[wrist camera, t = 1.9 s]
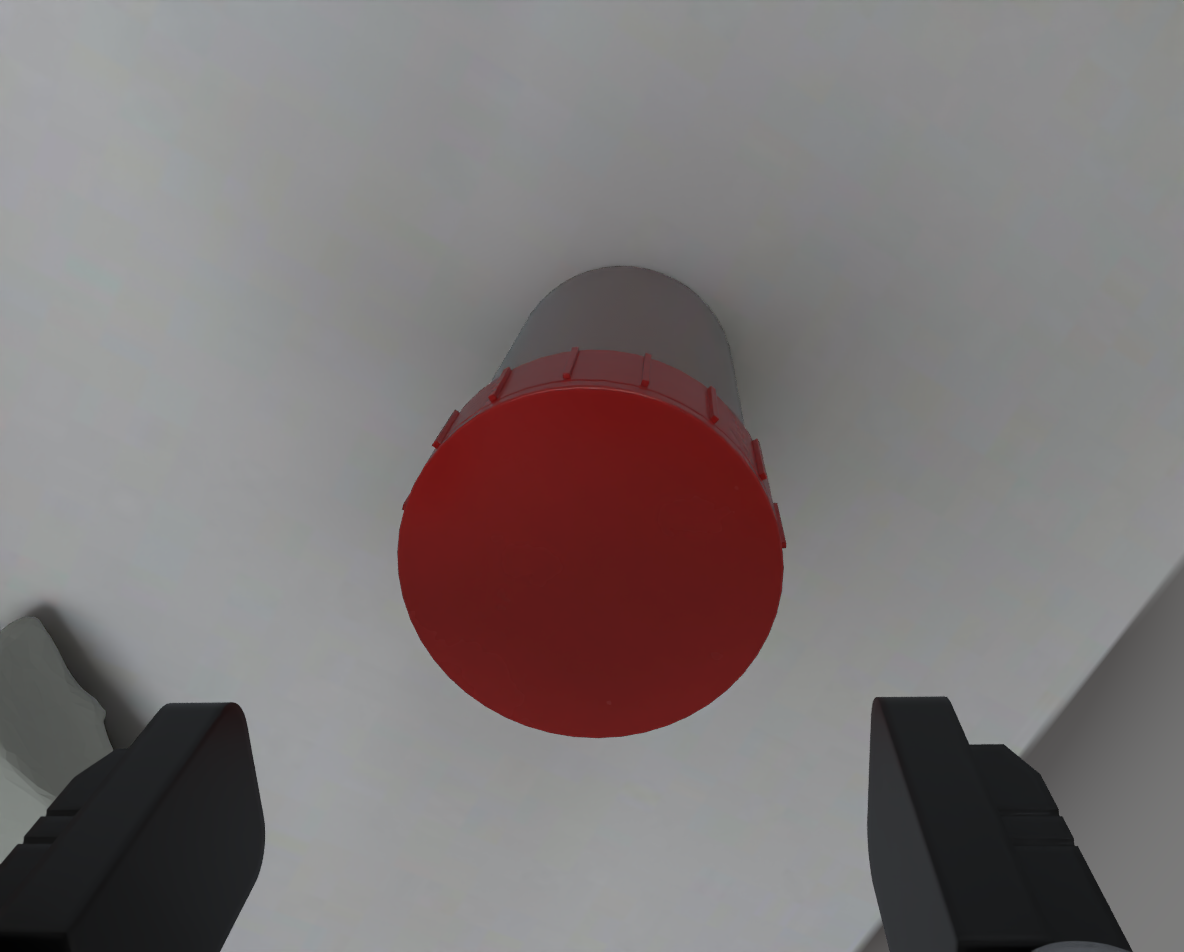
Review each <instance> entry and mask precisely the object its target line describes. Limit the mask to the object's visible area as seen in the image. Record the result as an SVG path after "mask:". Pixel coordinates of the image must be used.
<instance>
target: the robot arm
mask: <svg viewBox="0 0 1184 952" xmlns="http://www.w3.org/2000/svg"><path fill="white" fill-rule="evenodd" d="M1058 810H1059V809H1058V807H1057V805H1056V803H1055V802H1054V800H1053V798H1052V796H1051V794H1050V792H1049V790H1048V788H1047V786H1046V784H1045V782H1044V781H1043V779H1042V777H1041V775H1040V774H1039V773H1038V772H1037V771H1036V770H1034V769H1033V768H1032V767H1031V766H1029V765H1028V764H1027V763H1026V762H1025V761H1023V760H1022V759H1021V758H1020V757H1019V756H1017V755H1016V754H1015V753H1014V752H1012V751H1011V750H1010V749H1009V748H1008V747H1006V746H1005V745H1004V744H982V745H969V743H968V740H967V738H966V736H965V734H964V731H963V729H962V727H961V725H960V722H959V720H958V718H957V715H956V713H955V711H954V709H953V706H952V704H951V702H950V700H949V699H948V698H947V697H876V698H875V699H874V701H873V705H872V712H871V733H870V761H869V789H868V817H867V834H868V851H869V861H870V869H871V875H872V881H873V886H874V890H875V894H876V898H877V902H878V906H879V910H880V914H881V918H882V922H883V926H884V930H885V934H886V939H887V943H888V947H889V951H890V952H1133V951H1132V949H1131V948H1130V945H1129V944H1128V942H1127V940H1126V938H1125V936H1124V934H1123V932H1122V930H1121V928H1120V926H1119V925H1118V923H1117V920H1116V919H1115V917H1114V915H1113V913H1112V911H1111V909H1110V907H1109V905H1108V903H1107V901H1106V899H1105V898H1104V896H1103V894H1102V892H1101V890H1100V888H1099V886H1098V884H1097V882H1096V880H1095V879H1094V876H1093V874H1092V873H1091V871H1090V869H1089V867H1088V865H1087V863H1086V861H1085V859H1084V857H1083V855H1082V853H1081V852H1080V850H1079V848H1078V846H1075V845H1074V838H1073V836H1072V834H1071V832H1070V830H1069V828H1068V826H1067V825H1066V823H1065V821H1064V819H1063V817H1062V816H1059V811H1058ZM46 811H47V812H46V816H41V817H40V818H39V819H38V820H37V822H36V823H35V824H34V825H33V826H32V827H31V829H30V830H29V831H28V832H27V833H26V835H25V836H24V841H23V844H17V845H16V846H15V848H14V849H13V850H12V851H11V852H10V853H9V855H8V856H7V857H6V858H5V859H4V861H3V862H2V863H1V864H0V952H220V951H221V949H222V947H223V945H224V943H225V941H226V939H227V937H228V935H229V933H230V931H231V929H232V927H233V925H234V923H235V921H236V919H237V917H238V915H239V913H240V912H241V910H242V908H243V906H244V904H245V902H246V900H247V898H248V896H249V894H250V892H251V890H252V888H253V886H254V884H255V882H256V880H257V878H258V875H259V872H260V869H261V865H262V860H263V855H264V846H265V823H264V816H263V810H262V805H261V799H260V794H259V788H258V783H257V777H256V771H255V766H254V760H253V755H252V749H251V744H250V738H249V733H248V727H247V722H246V718H245V715H244V712H243V711H242V709H241V707H240V706H239V705H238V704H236V703H233V702H230V703H169V704H166V705H164V706H163V707H162V708H161V709H160V710H159V711H158V712H157V714H156V715H155V716H154V717H153V719H152V720H151V721H150V722H149V724H148V725H147V726H146V727H145V729H144V730H143V731H142V732H141V734H140V735H139V736H138V737H137V739H136V740H135V741H134V742H133V744H132V745H131V746H130V747H129V749H115V750H114V751H112V752H111V753H109V754H108V755H106V756H105V757H103V758H102V759H100V760H99V761H97V762H96V763H94V764H93V765H91V766H90V767H88V768H87V769H85V770H84V771H82V772H81V773H79V774H78V775H77V776H75V777H74V778H73V779H72V780H71V781H70V782H69V784H68V785H67V786H66V787H65V788H64V790H63V791H62V792H61V793H60V794H59V795H58V797H57V798H56V799H55V800H54V801H53V803H52V804H51V805H50V806H49V807H48V808H47V810H46Z"/></svg>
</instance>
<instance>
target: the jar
mask: <svg viewBox="0 0 1184 952" xmlns="http://www.w3.org/2000/svg"><path fill="white" fill-rule="evenodd" d="M572 347H579V350H614V351H620V352H626V353H632V354H637V355H641V356H644V355H645V353H648V354H651V355H652V357H651V359H654V360H658V361H660V362H663V363H665V364H667V365H670V366H672V367H674V368H676V369H679V370H681V371H682V372H684V373H686V374H687V375H689V376H691V377H692V378H694V379H696V380H697V381H699V382H701V383H702V384H703V385H704V386H706V387H707V388H709V387H710V386H712V387H714V388H715V389H716V395H717V396H718V397H719V398H720V399H721V400H722V401H723V402H724V403H725V404H726V405H727V406H728V407H729V408H730V409H731V410H732V411H733V412H734V413H735V415H736V416H737V417H738V419H739V420H740V421H741V423H742V424H743V426H744V427H745V425H744V419H743V414H742V409H741V404H740V398H739V393H738V388H737V382H736V377H735V372H734V366H733V361H732V356H731V352H730V347H729V343H728V341H727V338H726V335H725V332H724V330H723V328H722V326H721V325H720V323H719V321H718V319H717V317H716V316H715V315H714V313H713V312H712V310H711V309H710V308H709V306H708V305H707V304H706V303H705V302H704V301H703V300H702V299H701V298H700V297H699V296H698V295H697V294H696V293H694V292H693V291H692V290H691V289H689V288H688V287H687V286H685V285H684V284H682V283H680V282H679V281H677V280H675V279H673V278H671V277H669V276H667V275H664V274H662V273H659V272H656V271H653V270H649V269H645V268H639V267H632V266H614V267H604V268H599V269H595V270H591V271H587V272H585V273H582V274H580V275H577V276H574V277H573V278H571V279H569V280H567V281H565V282H564V283H562V284H560V285H559V286H558V287H556V288H555V289H554V290H552V291H551V292H550V293H549V294H548V295H546V296H545V297H544V298H543V299H542V300H541V301H540V302H539V304H538V305H537V306H536V307H535V309H534V310H533V311H532V313H531V314H530V316H529V317H528V319H527V321H526V322H525V324H524V326H523V328H522V329H521V331H520V333H519V334H518V336H517V338H516V340H515V341H514V343H513V345H512V346H511V348H510V350H509V352H508V353H507V355H506V357H505V358H504V360H503V362H502V364H501V365H500V367H499V369H498V370H497V372H496V374H495V376H494V377H493V379H492V381H491V382H493V381H494V380H495V379H497V378H498V377H499V376H500V375H501V373H502V371H503V370H504V369H505V368H507V367H510V369H511V370H512V369H514V368H516V367H518V366H520V365H522V364H525V363H528V362H530V361H533V360H536V359H538V358H541V357H545V356H549V355H553V354H558V353H562V352H569V351H571V349H572ZM491 382H490V383H491Z"/></svg>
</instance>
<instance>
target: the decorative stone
mask: <svg viewBox="0 0 1184 952" xmlns="http://www.w3.org/2000/svg"><path fill="white" fill-rule="evenodd" d="M105 717H106V711H105V710H104V709H103V708H102V707H101V705H100V704H99V703H98V701H97V700H96V699H95V698H94V697H93V696H91V695H90V694H89V693H87V692H86V691H85V690H83V689H82V688H81V687H80V685H79V684H78V683H77V682H76V680H75V679H74V678H73V676H72V675H71V673H70V672H69V670H68V669H67V667H66V665H65V663H64V661H63V659H62V657H61V655H60V653H59V651H58V649H57V647H56V645H55V643H54V642H53V640H52V638H51V636H50V635H49V634H48V632H47V631H46V629H45V628H44V626H43V624H42V623H41V621H40V620H39V619H37V618H36V617H23V618H21V619H19V620H17V621H15V622H13V623H11V624H9V625H8V626H6V627H5V628H4V629H3V630H2V631H0V864H1V863H2V862H3V861H4V859H5V858H6V857H7V856H8V855H9V853H10V852H11V851H12V850H13V849H14V848H15V846H16V845H17V844H23V841H24V836H25V835H26V833H27V832H28V831H29V830H30V829H31V827H32V826H33V825H34V824H35V823H36V822H37V820H38V819H39V818H40V817H41V816H46V812H47V811H46V810H47V808H48V807H49V806H50V805H51V804H52V803H53V801H54V800H55V799H56V798H57V797H58V795H59V794H60V793H61V792H62V791H63V790H64V788H65V787H66V786H67V785H68V784H69V782H70V781H71V780H72V779H73V778H74V777H75V776H77V775H78V774H79V773H81V772H82V771H84V770H85V769H87V768H88V767H90V766H91V765H93V764H94V763H96V762H97V761H99V760H100V759H102V758H103V757H105V756H106V755H108V754H109V753H111V752H112V751H114V750H113V748H112V746H111V744H110V742H109V739H108V736H107V732H106V729H105V726H104V723H103V721H104V719H105Z"/></svg>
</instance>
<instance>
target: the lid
mask: <svg viewBox="0 0 1184 952" xmlns="http://www.w3.org/2000/svg"><path fill="white" fill-rule="evenodd" d="M651 357H652V355H651V354H648V353H645V355H644V356H641V355H637V354H632V353H626V352H620V351H614V350H579V347H572V349H571V351H569V352H562V353H558V354H553V355H549V356H545V357H541V358H538V359H536V360H533V361H530V362H528V363H525V364H522V365H520V366H518V367H516V368H514V369H512V370H511V369H510V367H507V368H505V369H504V370H503V371H502V373H501V375H500V376H499V377H498V378H497V379H495V380H494V381H493V382H491V383H490V384H488V385H487V386H486V387H484V388H483V389H482V390H480V391H479V392H478V393H477V394H476V395H475V396H474V397H473V398H472V399H471V400H470V401H469V402H468V403H467V404H466V405H465V406H464V407H463V409H462V410H461V411H460V413H459V412H458V411H457V410H455V411H454V412H453V413H452V415H451V416H450V418H449V419H448V421H447V422H446V424H445V426H444V427H443V429H442V430H441V432H440V433H439V435H438V436H437V438H436V440H435V441H434V443H433V444H432V446H433V447H435V450H434V452H433V453H432V455H431V456H430V458H429V460H428V461H427V463H426V464H425V466H424V468H423V470H422V471H421V473H420V475H419V477H418V478H417V480H416V482H415V483H414V485H413V488H412V490H411V493H410V494H409V496H408V498H407V499H406V501H405V502H404V504H403V508H402V510H404V513H403V517H402V521H401V525H400V529H399V540H398V551H397V554H398V574H399V580H400V585H401V590H402V595H403V599H404V602H405V605H406V608H407V611H408V614H409V617H410V620H411V622H412V624H413V626H414V628H415V630H416V632H417V634H418V636H419V638H420V640H421V641H422V643H423V644H424V646H425V647H426V649H427V650H428V652H429V653H430V655H431V656H432V658H433V659H434V661H435V662H436V663H437V664H438V665H439V666H440V667H441V669H442V670H443V671H444V672H445V673H446V674H447V676H448V677H449V678H450V679H452V680H453V681H454V682H455V683H456V684H457V685H458V686H459V687H460V688H461V689H463V690H464V691H465V692H466V693H467V694H469V695H470V696H472V697H473V698H474V699H476V700H477V701H479V702H480V703H481V704H483V705H484V706H486V707H488V708H489V709H491V710H493V711H495V712H497V713H499V714H500V715H502V716H504V717H506V718H508V719H511V720H513V721H516V722H518V723H520V724H523V725H525V726H528V727H531V728H535V729H538V730H542V731H546V732H549V733H554V734H560V735H566V736H572V737H588V738H606V737H622V736H628V735H633V734H639V733H644V732H648V731H651V730H655V729H658V728H661V727H664V726H668V725H670V724H672V723H674V722H677V721H679V720H681V719H684V718H686V717H688V716H690V715H692V714H693V713H695V712H697V711H698V710H700V709H702V708H704V707H705V706H707V705H709V704H710V703H711V702H712V701H714V700H715V699H716V698H718V697H719V696H720V695H721V694H723V693H724V692H725V691H727V690H728V689H729V688H730V687H731V686H732V685H733V684H734V683H735V682H736V681H737V680H738V679H739V678H740V677H741V676H742V675H743V673H744V672H745V671H746V670H747V668H748V667H749V666H750V664H751V663H752V662H753V660H754V659H755V658H756V656H757V655H758V653H759V651H760V649H761V648H762V646H763V644H764V642H765V640H766V639H767V637H768V635H769V632H770V630H771V627H772V625H773V622H774V619H775V617H776V614H777V610H778V606H779V601H780V597H781V593H782V583H783V570H784V566H783V551H782V548H786V540H785V535H784V531H783V527H782V522H781V518H780V514H779V509H778V505H777V503H773V500H772V496H771V491H770V487H769V482H768V478H767V473H766V469H765V465H764V460H763V456H762V451H761V447H760V443H759V441H758V439H755V440H752V438H751V436H750V434H749V433H748V431H747V430H746V428H745V427H744V426H743V424H742V423H741V421H740V420H739V419H738V417H737V416H736V415H735V413H734V412H733V411H732V410H731V409H730V408H729V407H728V406H727V405H726V404H725V403H724V402H723V401H722V400H721V399H720V398H719V397H718V396H717V395H716V389H715V388H714V387H712V386H710V387H709V388H707V387H706V386H704V385H703V384H702V383H701V382H699V381H697V380H696V379H694V378H692V377H691V376H689V375H687V374H686V373H684V372H682V371H681V370H679V369H676V368H674V367H672V366H670V365H667V364H665V363H663V362H660V361H658V360H654V359H651Z"/></svg>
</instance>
